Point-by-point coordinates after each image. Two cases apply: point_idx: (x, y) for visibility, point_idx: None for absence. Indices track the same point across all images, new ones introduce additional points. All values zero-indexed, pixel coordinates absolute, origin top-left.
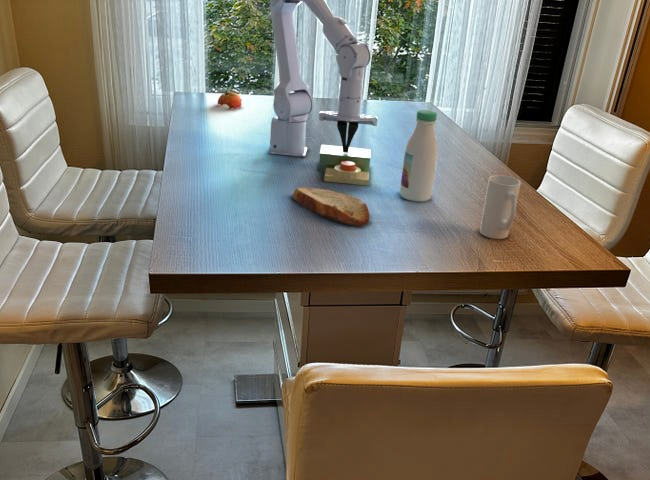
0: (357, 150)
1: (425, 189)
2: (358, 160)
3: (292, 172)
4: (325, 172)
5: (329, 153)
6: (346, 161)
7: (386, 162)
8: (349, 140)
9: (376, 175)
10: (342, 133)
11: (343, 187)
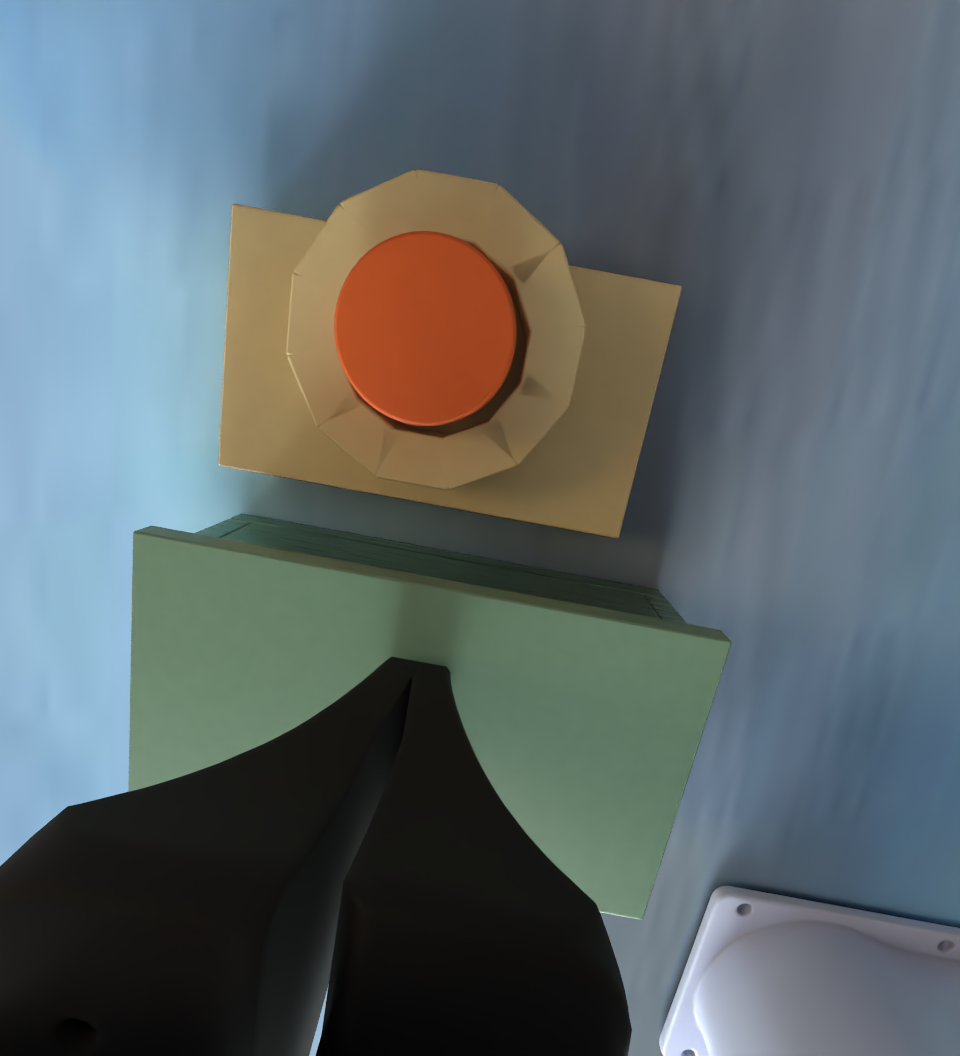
0: None
1: None
2: None
3: (908, 517)
4: (653, 393)
5: (613, 642)
6: (436, 404)
7: None
8: (338, 722)
9: (174, 526)
10: (460, 814)
11: (504, 127)
